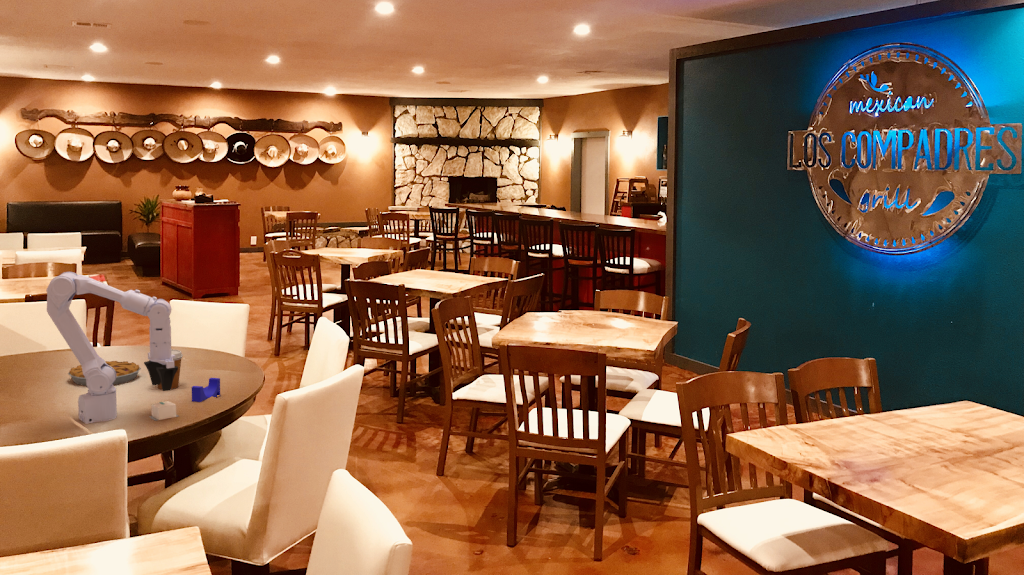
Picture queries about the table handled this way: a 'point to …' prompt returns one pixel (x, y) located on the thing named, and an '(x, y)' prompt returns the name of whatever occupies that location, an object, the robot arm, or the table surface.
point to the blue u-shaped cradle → (206, 390)
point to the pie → (122, 369)
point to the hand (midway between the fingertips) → (161, 387)
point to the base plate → (157, 419)
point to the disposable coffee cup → (177, 363)
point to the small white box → (163, 410)
